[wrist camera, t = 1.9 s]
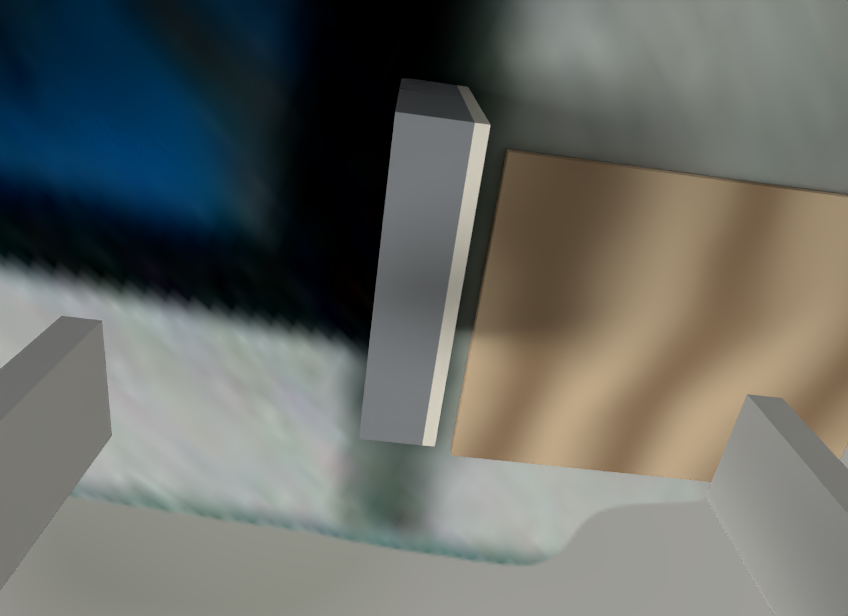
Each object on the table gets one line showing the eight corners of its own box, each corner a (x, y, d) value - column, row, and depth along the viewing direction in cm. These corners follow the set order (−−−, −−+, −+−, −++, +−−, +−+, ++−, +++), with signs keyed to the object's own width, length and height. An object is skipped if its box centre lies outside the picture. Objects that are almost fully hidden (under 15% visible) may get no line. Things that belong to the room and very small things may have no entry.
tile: (374, 323, 27) (358, 438, 20) (402, 77, 23) (395, 111, 16) (430, 330, 28) (434, 446, 20) (467, 86, 23) (490, 124, 16)
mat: (450, 448, 30) (451, 455, 30) (506, 149, 24) (508, 152, 24) (816, 486, 31) (822, 493, 31) (955, 209, 25) (965, 213, 25)
